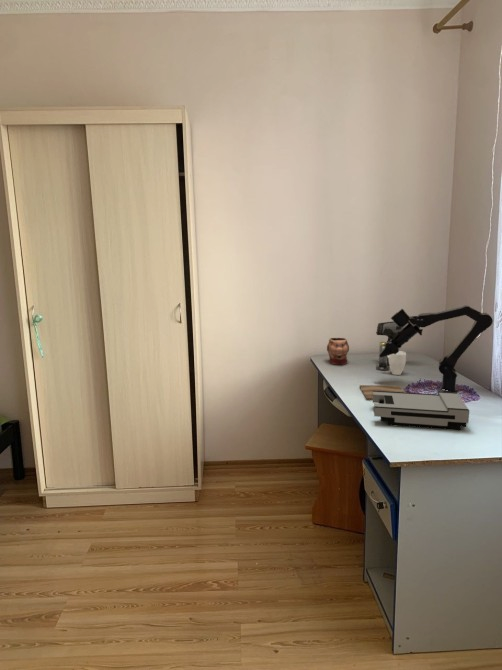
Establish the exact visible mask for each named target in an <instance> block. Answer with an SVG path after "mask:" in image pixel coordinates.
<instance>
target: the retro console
mask: <svg viewBox="0 0 502 670" xmlns="http://www.w3.org/2000/svg"><path fill="white" fill-rule="evenodd" d="M404 392H405V391H404ZM404 392H388V391H373V394H372V400H371V401H372V403H373V415H374V417H380V421H381V422H386V423H387V422H388V423H387V426H393V425H397V426H396V427H405V428H406V427H408V428H409V427H410V428H422V429H437V430H448V431H449V430H450V431H461V427H462V428H467V424H468V423H469V419H470V409H469V408H468V406H467V405H466V404H465V402H464V401H463V399H462V397H461V396H460V395H459V393H458V392H456V391H438V392H437V393H438V394H434V393H419V392H417V393H416V392H405V393H404Z"/></svg>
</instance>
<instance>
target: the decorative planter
mask: <svg viewBox="0 0 502 670" xmlns="http://www.w3.org/2000/svg"><path fill="white" fill-rule="evenodd" d="M349 350H350V346H349V343H348V339H346V337H331V338H329V339H328V343H327V345H326V351H327V353H328V357H329V362H330V363H331V364H333V365H346V364H348V358H347V355H348V353H349Z"/></svg>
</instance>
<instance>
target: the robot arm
mask: <svg viewBox="0 0 502 670" xmlns="http://www.w3.org/2000/svg"><path fill="white" fill-rule="evenodd" d="M463 316H466V317H468V318H470V319H472V320H473V321H474V322H473V324H472V326H471V327H470V329H469V330H468V332H467V333H466V334H465V335H464V336H463V338H462V339H461V340H460V341H459V343H457V345H456V346H455V347H454V348H453V350H452V351H451V352H450V353H449V354H446V353H443V355H442V357H441V358H440V359H439V360H438V370H439V372H440V373H441V374H442V379H441V382H442V383H441V385H439V386H438V387H440V388H439V389H440V390H442V389H445V390H448V391H447V392H459V390H458V389H457V388H456V386H457V376H458V372H457V370H456V369H455V366H456V365H457V363H458V360H459V359H460V358H461V356H462V355H463V354H464V353H465V351H467V349H468V348H469V346H471V344H472V343H473V342H474V341H475V339H477V337H478V336H479V335H480V334H481V333H483V332H485V331H486V330H487V329H488V328H490V327H491V326H492V325H493V318H492V316H491V314H490V313H487V312H480V311H478V310H477V309H475V308H473V307H471V306H470V305H467V304H466V305H462V306H459V307H455V308H451V309H446V310H442V311H438V312H437V311H436V312H423V313H420V314H417V315H411V316H410V315H409V314H408V313H407V312H406V311H405V310H404V309H403V308H401V309H400V310H398V311H397V312H396V313H394V314H393V315H392V316H391V317H390V319H391V320H392V322H395V323H396V324H397V325H398V326H399V327H400V326H401V327H403V326H405V325H406V324H407V323H409V324H408V325H407V326H405V327H404V328H403V329H402V330H399V331H398V332H396V331H395V330H393V329H391V328H389V327H387V326H386V327H385V329H384V331H383V333H382V334H384V335H383V336H385V335H387V336H386V337H388V336H389V339H391V340H390V341H389V340H388V339H387V340H388V341H386V342H387V343H386V348H385V349H384V350H383V352H382V353H381V354H380V355H379V354H378V357H379V356H380V357H384V356H387V355H391V354H397V353H398V352H399V351H400V349H401V348H402V346H404V344H405V345H406V343H408V342H409V341H410V339H412V338H413V337H414V336H416V335H418V334H419V336H423V331H424V328H426V327H428V326H429V327H430V326H431V325H433V324H435V323H437V322H441V321H445V320H449V319H453V318H459V317H463ZM412 323H414V324H415V325H413V324H412ZM416 324H417V325H418V326H419V327H420V328H419V327H418V326H417V325H416Z"/></svg>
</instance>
